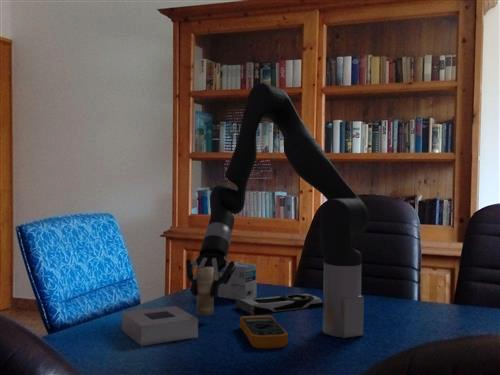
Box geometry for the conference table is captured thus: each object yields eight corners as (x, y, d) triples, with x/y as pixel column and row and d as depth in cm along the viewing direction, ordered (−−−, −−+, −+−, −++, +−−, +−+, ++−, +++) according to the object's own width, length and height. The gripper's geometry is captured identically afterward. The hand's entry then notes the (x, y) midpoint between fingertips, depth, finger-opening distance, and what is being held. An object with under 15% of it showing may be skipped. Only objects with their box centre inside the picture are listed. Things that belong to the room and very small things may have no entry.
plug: (216, 314, 142) (216, 268, 142) (201, 316, 140) (201, 269, 140) (209, 310, 146) (209, 265, 146) (194, 312, 144) (194, 267, 144)
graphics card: (235, 298, 159) (307, 291, 171) (235, 310, 159) (307, 302, 171) (251, 306, 150) (326, 297, 162) (251, 318, 150) (326, 309, 162)
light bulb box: (257, 297, 174) (257, 263, 173) (245, 301, 168) (246, 266, 168) (229, 293, 179) (229, 260, 179) (217, 297, 174) (217, 263, 173)
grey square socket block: (197, 337, 130) (198, 318, 130) (141, 345, 123) (141, 325, 123) (175, 323, 143) (175, 305, 142) (122, 330, 135) (122, 312, 135)
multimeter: (252, 351, 122) (253, 335, 122) (238, 328, 139) (238, 315, 139) (290, 349, 123) (290, 334, 123) (271, 327, 141) (271, 314, 141)
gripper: (188, 233, 152) (173, 285, 140) (239, 234, 149) (227, 288, 137) (194, 250, 157) (180, 301, 145) (243, 251, 154) (232, 304, 142)
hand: (203, 294), depth 141 cm, fingers closed on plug, 4 cm apart
